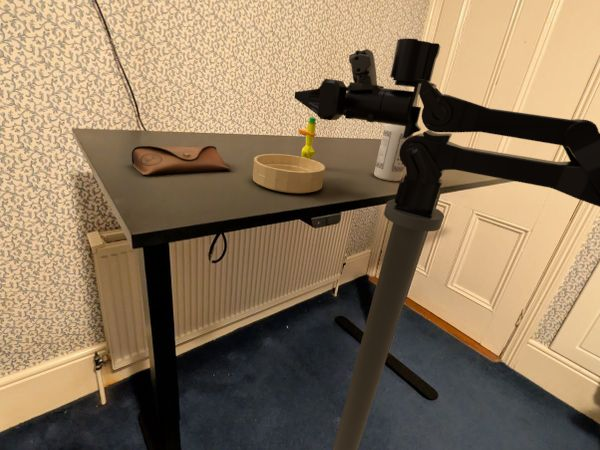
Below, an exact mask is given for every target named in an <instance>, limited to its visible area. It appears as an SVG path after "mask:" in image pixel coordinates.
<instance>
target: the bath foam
mask: <svg viewBox="0 0 600 450" xmlns="http://www.w3.org/2000/svg"><path fill="white" fill-rule="evenodd" d="M404 130H405V126H399V125H393V124H386V123H385V125H384V128H383V132H382V136H381V140H380V141H381V142H380V145H379V149H378V154H377V158H376V163H375V167H374V172H373V175H374V177H375V178H377V179H380V180H384V181H388V182H401V181H402V178H403V174H404V171H405V168H406V167H405V166H404V165H403V163H402V162H401V160H400V156H399V153H400V148H401V145H402V144H403V143H404V141H405V140H407V139H408V138H410V137H412V136H414V134H412V135H411V136H410V137H408V138H404V137H403V135H404Z"/></svg>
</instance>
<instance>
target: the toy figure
mask: <svg viewBox="0 0 600 450" xmlns="http://www.w3.org/2000/svg"><path fill="white" fill-rule="evenodd" d="M316 121H317V118H316V117H313V116H310V117H309V120H307V123H306V129H302V128H301V129H300V128H299V129H298V128H297V131H298V133H299V135H301V136H305V145H304V146H303V147H302V148H301V153H300V155H301V156H300V157H304V158H308V159H311V160H313V158H314V155H315V153H316V151H315V150H314V147H313V142H314V138H315V137H316V136H317V134H316V128H317V122H316Z"/></svg>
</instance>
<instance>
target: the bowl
mask: <svg viewBox="0 0 600 450" xmlns="http://www.w3.org/2000/svg"><path fill="white" fill-rule="evenodd" d="M252 164H253V165H252V175H251V176H252V181H253V182H254V183H256V185H259V186H261V187H263V188H265V189H268V190H271V191H275V192H279V193H285V194H307V193H314V192H318V191H319V190H321V189H322V188H323V184H324V178H325V172H326V166H325V164H323V163H322V162H319V161H317V160H314V159H308V158H304V157H302V156H299V155H298V156H297V155H293V154H283V153H282V154H281V153H266V154H259V155H256V156H254V157H253V163H252Z"/></svg>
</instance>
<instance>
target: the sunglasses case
mask: <svg viewBox="0 0 600 450" xmlns="http://www.w3.org/2000/svg"><path fill="white" fill-rule="evenodd" d="M219 153H220V152H218V150H217V147H216V146H214V145H206V146H155V145H138V146H135V147H134V148H133V149H132V150H131V164H132V167H133V168H134V169H135V170H136V171H137V172H138V173H139V174H141V175H144V176H152V175H161V174H188V173H189V174H190V173H191V174H192V173H211V172H212V173H213V172H220V171H226V170H231V167H229V166H227V164H226V162H225V161H224V160H223V157H222V156H221V155H220V154H219Z"/></svg>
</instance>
